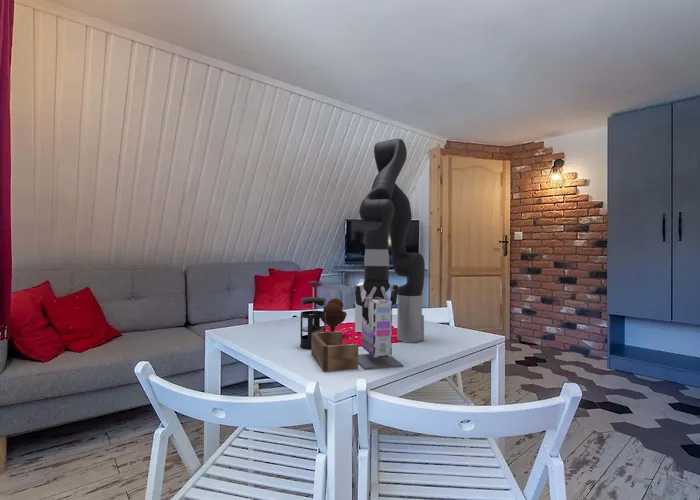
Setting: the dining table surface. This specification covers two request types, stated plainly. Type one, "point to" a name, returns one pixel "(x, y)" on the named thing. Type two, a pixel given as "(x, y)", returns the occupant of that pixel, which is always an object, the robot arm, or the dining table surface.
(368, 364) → the mat
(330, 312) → the ice cream bowl
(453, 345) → the dining table surface
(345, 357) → the holder
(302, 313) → the french press
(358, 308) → the milk
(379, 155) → the robot arm
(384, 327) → the candy box
